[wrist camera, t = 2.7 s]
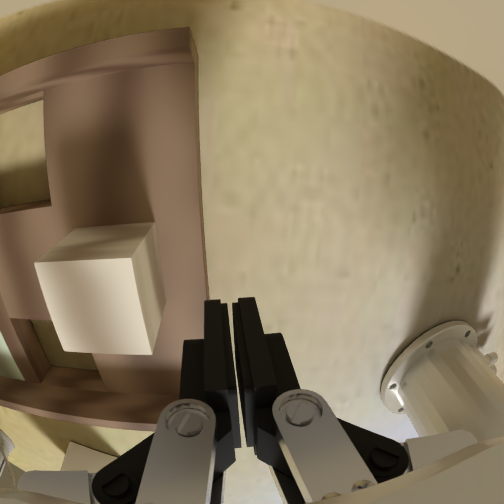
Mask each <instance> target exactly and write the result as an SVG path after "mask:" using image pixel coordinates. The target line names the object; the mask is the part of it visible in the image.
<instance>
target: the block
mask: <svg viewBox="0 0 504 504" xmlns="http://www.w3.org/2000/svg"><path fill="white" fill-rule="evenodd" d="M34 265H35V269H36V272H37V276H38V279H39V283H40V286H41V289H42V292H43V295H44V299H45V302H46V305H47V308H48V310H49V313H50V316H51V319H52V322H53V324H54V327H55V330H56V332H57V335H58V337H59V340H60V342H61V345H62V347H63V349H64V351H69V352H83V353H100V354H127V355H152V354H153V350H154V346H155V342H156V338H157V334H158V330H159V326H160V323H161V319H162V315H163V311H164V308H165V304H166V297H165V291H164V285H163V278H162V272H161V265H160V258H159V250H158V242H157V234H156V226H155V222H148V223H134V224H121V225H108V226H96V227H85V228H76V229H75V230H73V231H72V232H71V233H69V234H68V235H67V236H66V237H64V238H63V239H62V240H61V241H59V242H58V243H57V244H56V245H54V246H53V247H52V248H51V249H50V250H48V251H47V252H46V253H45V254H44V255H42V256H41V257H40V258H39V259H38V260H36V261H35V262H34Z"/></svg>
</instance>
